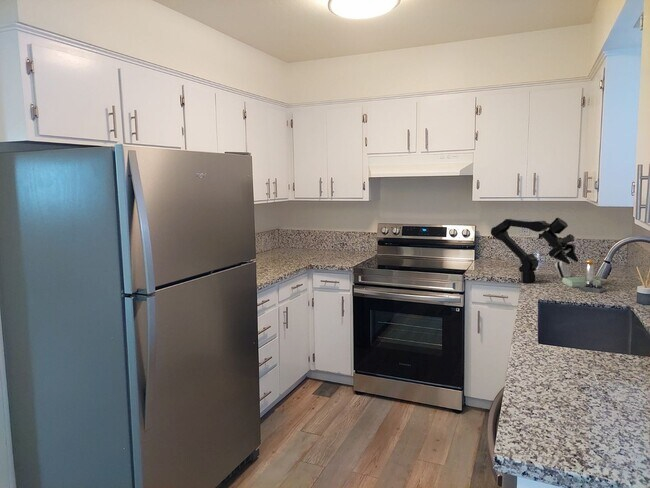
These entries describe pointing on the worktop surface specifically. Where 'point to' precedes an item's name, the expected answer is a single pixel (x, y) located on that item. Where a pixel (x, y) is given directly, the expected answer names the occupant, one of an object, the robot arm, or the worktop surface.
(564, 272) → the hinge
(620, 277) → the worktop surface
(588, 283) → the lock pin
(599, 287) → the tensioner block
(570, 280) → the parts tray
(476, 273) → the worktop surface
